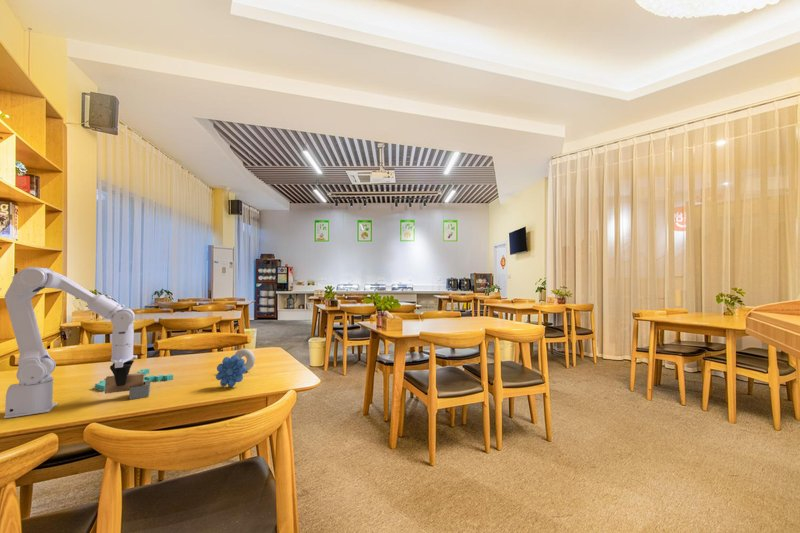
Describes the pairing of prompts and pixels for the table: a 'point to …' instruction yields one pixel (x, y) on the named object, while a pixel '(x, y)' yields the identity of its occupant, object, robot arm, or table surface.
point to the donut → (248, 355)
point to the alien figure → (149, 378)
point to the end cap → (140, 391)
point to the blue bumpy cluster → (231, 371)
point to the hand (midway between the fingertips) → (121, 384)
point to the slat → (131, 381)
